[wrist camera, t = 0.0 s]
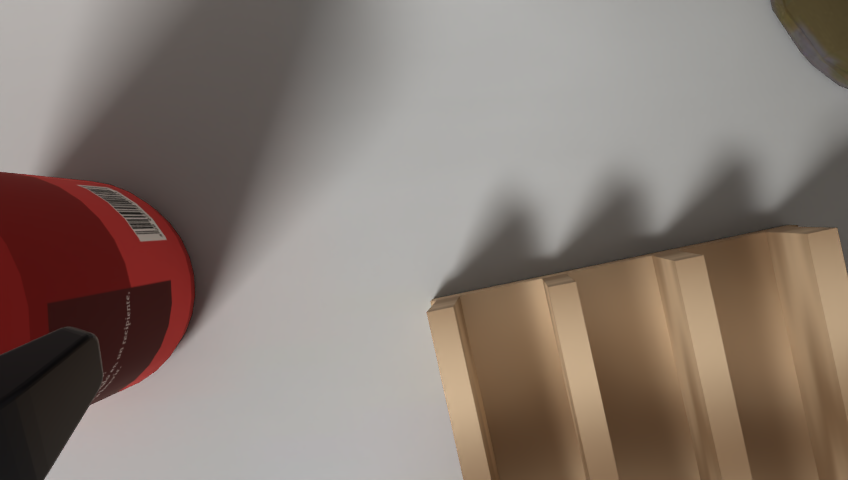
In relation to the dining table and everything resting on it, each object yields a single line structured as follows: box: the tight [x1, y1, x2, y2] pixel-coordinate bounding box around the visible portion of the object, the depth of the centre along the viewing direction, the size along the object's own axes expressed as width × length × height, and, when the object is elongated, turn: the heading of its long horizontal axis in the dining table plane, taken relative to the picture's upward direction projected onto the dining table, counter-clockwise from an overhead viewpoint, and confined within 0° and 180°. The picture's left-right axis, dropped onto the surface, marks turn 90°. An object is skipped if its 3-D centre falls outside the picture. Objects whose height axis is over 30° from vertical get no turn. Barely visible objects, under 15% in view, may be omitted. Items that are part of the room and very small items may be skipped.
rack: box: [427, 225, 848, 480], centre depth 21 cm, size 12×12×4 cm
